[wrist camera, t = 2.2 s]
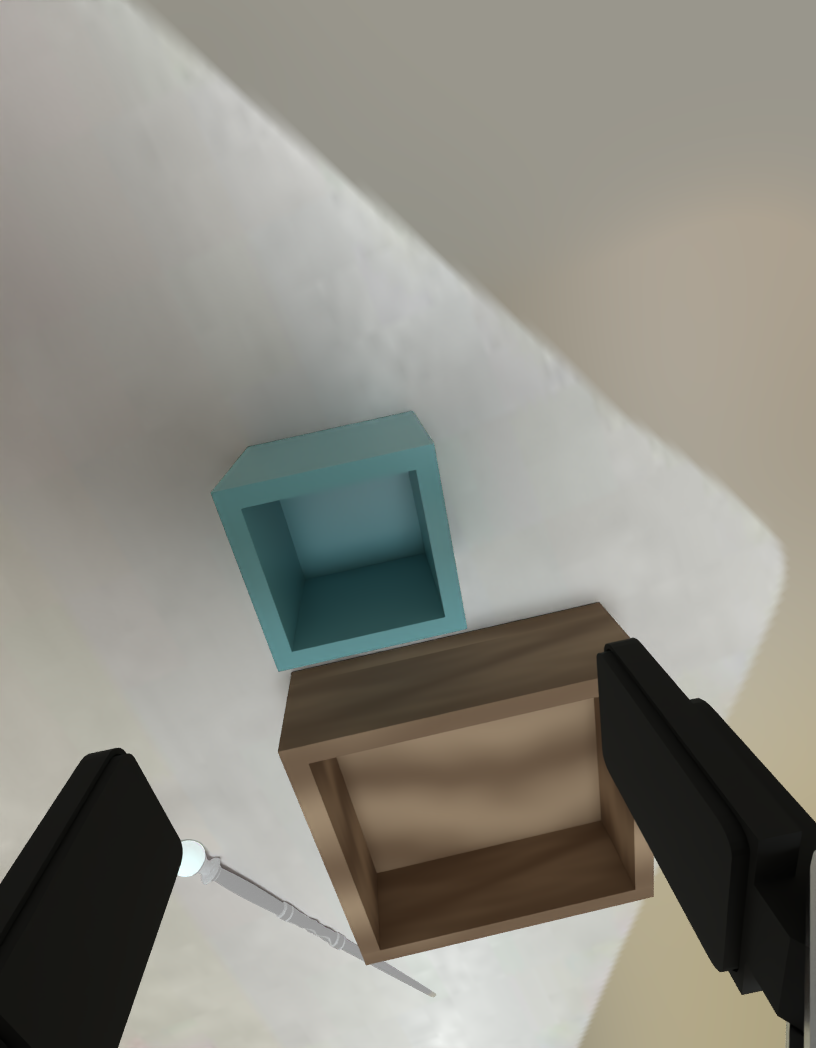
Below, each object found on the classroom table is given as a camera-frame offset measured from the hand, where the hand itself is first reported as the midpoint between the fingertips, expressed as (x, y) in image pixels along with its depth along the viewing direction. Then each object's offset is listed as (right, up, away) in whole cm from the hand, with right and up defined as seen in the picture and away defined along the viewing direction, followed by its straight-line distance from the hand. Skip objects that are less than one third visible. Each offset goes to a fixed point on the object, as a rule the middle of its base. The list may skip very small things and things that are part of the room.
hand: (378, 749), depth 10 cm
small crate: (-2, +5, +12) cm, 14 cm away
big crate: (+4, -8, +18) cm, 21 cm away
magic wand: (-5, -22, +24) cm, 33 cm away
